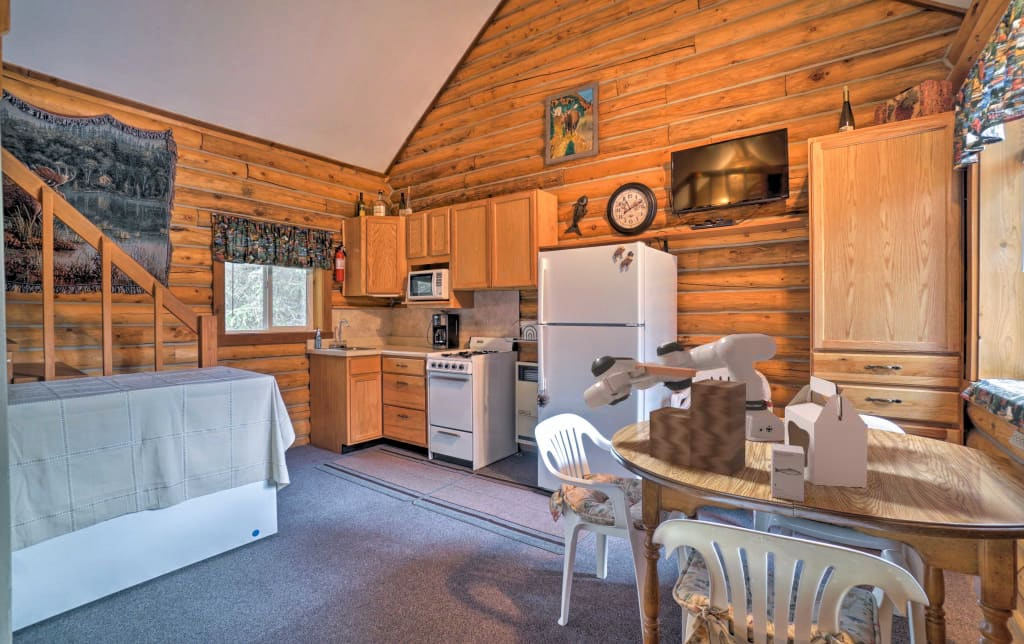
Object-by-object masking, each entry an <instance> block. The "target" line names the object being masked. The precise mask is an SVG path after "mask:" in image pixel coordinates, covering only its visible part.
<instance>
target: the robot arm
mask: <svg viewBox="0 0 1024 644" xmlns="http://www.w3.org/2000/svg"><path fill="white" fill-rule="evenodd" d="M685 348H687V346H685V345H683V344H681V343H679V342H678V341H666V342H665V341H664V342H663V343H661V344H659V346H657V347H656V356H658V362H659V363H658V362H655V361H646V362H645V361H644V362H639V361H638V360H636V359H634V358H632V357H624V356H623V357H622V356H621V357H619V356H610V355H605V356H604V355H603V356H600V357H598V358H596V359H595V360H594V361H593V362H592V365H591V368H590V372H591V373H592V374H593V376H594V377H595V379H596V381H597V382H595V383H593V384H592V385H590V386H589V387H588V388H587V389H586V390H585V391H584V393H583V399H584V401H585V403H586V406H588V407H589V408H590V409H591V410H597V409H599V408H602V407H605V406H607V405H608V406H613V407H614V406H615V405H617V404H619V403H621V402H623V401H626V400H627V399H629V397H630V393H631V390H632V388H633V389H635V390H638V391H645V390H649V389H652V388H653V387H655V386H656V385H658V384H660V383H663V385H662V386H663V387H664V388H667V389H668V390H669V391H671V392H678V393H679V392H685V391H687V390H688V389H689V388H691V383H693V378H685V377H676V376H666V375H656V374H647V373H645V372H646V371H647V369H646V367H641V368H639V369H637V370H635V365H639V364H644V365H655V366H666V367H677V368H688V369H696V372H706V371H713V370H718V369H724V368H726V369H727V372H728V375H729V381H732V382H742V383H746V440H748V441H751V442H775V441H780V442H782V441H785V422H783V420H782V419H781V418H780V417H778V415H776V414H775V413H773V412H772V411H771V410H769V409H768V408H772V407H773V406H774V403H773V402H771V401H770V400H769V401H768V400H765V399H764V398H763V391H764V390H763V386H764V385H763V383H764V382H763V378H762V377H761V375H759V374H757V372H756V369H755V367H754V363H761V362H765V361H767V360H770V359H773V357H775V355H776V354H777V351H778V345H777V342H776V340H775V339H774V338H773V337H772V336H770V335H767V334H763V333H737V334H735V333H732V334H729V335H726V336H723V337H720V338H719V339H718V340H715V341H711V342H709V343H705V344H702V345H701V344H700V345H699V346H696V347H694V348H692V349H689V350H686V349H685Z"/></svg>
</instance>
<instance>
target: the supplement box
mask: <svg viewBox="0 0 1024 644" xmlns="http://www.w3.org/2000/svg"><path fill="white" fill-rule="evenodd" d="M770 453H771V454H770V460H771V461H770V465H771V467H770V493H771V498H777V499H783V500H785V499H786V500H790V501H796V502H801V503H804V502H805V477H804V463H805V453H804V450H803V447H801V446H792V445H785V443H784V444H782V443H774V442H773V443H772V442H771V451H770Z"/></svg>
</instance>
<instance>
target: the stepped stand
mask: <svg viewBox="0 0 1024 644" xmlns="http://www.w3.org/2000/svg"><path fill="white" fill-rule="evenodd" d="M692 382H693V381H692ZM689 408H690V409H689ZM689 408H688V409H687V408H681V407H673V406H670V405H669V406H668V405H666V406H663V407H661V408H657V409H654V410H650V411H649V418H648V419H649V425H648V426H649V431H648V432H649V441H648V442H649V444H648V445H649V451H648V452H649V456H651V457H650V458H653V457H654V458H653V459H657V458H658V460H661V459H662V461H665V460H666V462H669V461H670V463H673V462H674V464H678V465H682V466H684V467H685V466H686V467H690V468H693V469H694V468H695V469H698V470H703V471H707V472H710V473H715V474H719V475H724V476H728V477H731V476H733V475H734V474H736V473H738V472H739V471H741V470H742V469H744V468H745V467H746V445H747V444H746V440H747V439H746V383H742V382H732V381H730V380H723V379H722V380H721V379H712V378H706V379H701V380H697V381H694V382H693V383H691V387H690V407H689Z"/></svg>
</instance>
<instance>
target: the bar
mask: <svg viewBox="0 0 1024 644" xmlns="http://www.w3.org/2000/svg"><path fill="white" fill-rule="evenodd" d="M641 367H646V369H647V371H646V372H645V373H647V374H656V375H666V376H676V377H685V378H692V379H693V378H696V377H697V371H696V369H690V368H689V369H688V368H677V367H666V366H655V365H644V364H639V365H635V370H637V369H639V368H641Z"/></svg>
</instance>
